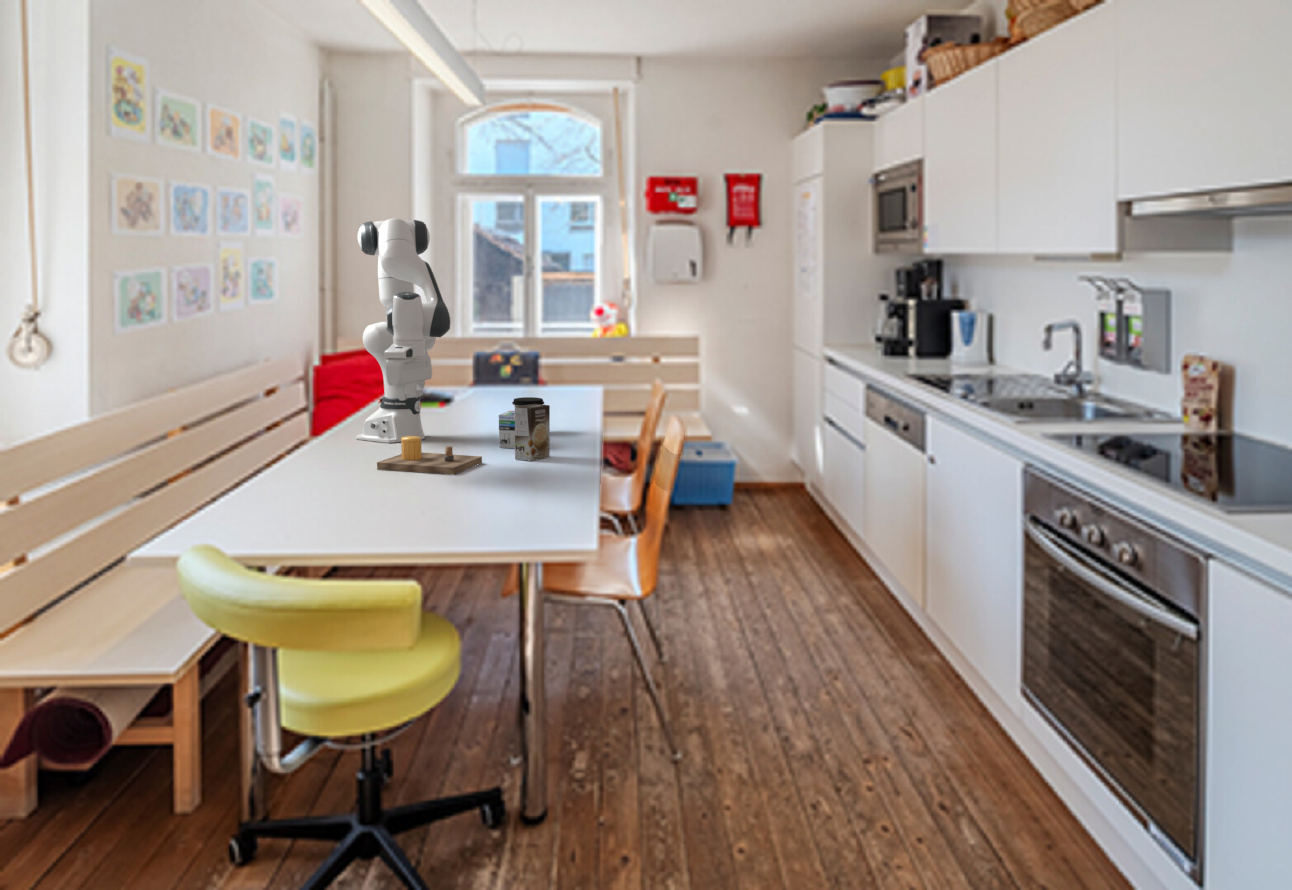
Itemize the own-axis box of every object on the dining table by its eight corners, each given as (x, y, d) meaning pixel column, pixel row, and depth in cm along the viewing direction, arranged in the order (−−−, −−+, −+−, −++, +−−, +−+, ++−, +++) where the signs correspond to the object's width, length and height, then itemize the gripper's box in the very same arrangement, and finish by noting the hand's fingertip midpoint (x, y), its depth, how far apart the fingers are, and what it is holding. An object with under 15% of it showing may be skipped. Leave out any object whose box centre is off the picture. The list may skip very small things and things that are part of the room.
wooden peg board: (377, 469, 291) (376, 448, 290) (409, 458, 308) (408, 438, 307) (453, 474, 284) (453, 453, 283) (482, 463, 301) (481, 443, 300)
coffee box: (530, 461, 304) (530, 408, 301) (514, 459, 308) (513, 406, 305) (550, 457, 311) (550, 404, 309) (534, 454, 315) (533, 403, 312)
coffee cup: (507, 435, 351) (506, 400, 349) (520, 430, 361) (520, 396, 359) (537, 436, 348) (536, 401, 346) (549, 432, 358) (549, 397, 356)
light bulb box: (518, 449, 325) (518, 415, 323) (498, 448, 326) (497, 414, 324) (529, 443, 335) (528, 410, 333) (509, 442, 336) (508, 410, 334)
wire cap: (398, 459, 295) (397, 438, 294) (407, 455, 301) (407, 435, 300) (415, 460, 294) (414, 439, 293) (425, 456, 299) (424, 436, 298)
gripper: (417, 347, 303) (419, 393, 305) (380, 352, 283) (383, 402, 286) (436, 347, 301) (438, 394, 303) (401, 353, 282) (403, 402, 284)
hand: (411, 398), depth 294 cm, fingers open, 8 cm apart
